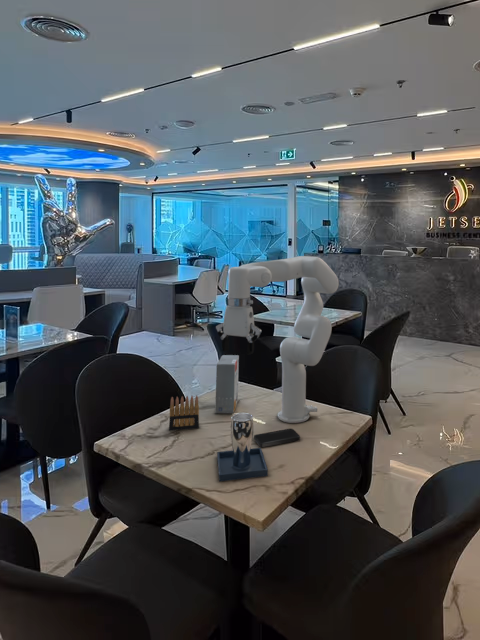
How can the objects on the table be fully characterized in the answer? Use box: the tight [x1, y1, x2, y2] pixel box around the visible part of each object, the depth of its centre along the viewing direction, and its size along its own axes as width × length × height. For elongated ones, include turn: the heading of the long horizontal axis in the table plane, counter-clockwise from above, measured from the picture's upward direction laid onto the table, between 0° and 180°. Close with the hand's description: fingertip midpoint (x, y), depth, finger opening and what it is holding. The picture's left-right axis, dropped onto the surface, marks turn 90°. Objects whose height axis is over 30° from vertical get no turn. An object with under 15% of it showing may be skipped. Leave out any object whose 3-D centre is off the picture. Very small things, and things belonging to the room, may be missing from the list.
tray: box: [216, 447, 269, 482], centre depth 136 cm, size 14×14×2 cm
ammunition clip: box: [168, 395, 200, 431], centre depth 162 cm, size 11×2×12 cm, turn 103°
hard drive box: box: [214, 354, 240, 414], centre depth 184 cm, size 16×8×20 cm, turn 2°
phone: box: [253, 428, 301, 448], centre depth 155 cm, size 8×1×15 cm
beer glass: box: [230, 412, 254, 470], centre depth 136 cm, size 7×7×15 cm
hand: (237, 352), depth 151 cm, fingers open, 9 cm apart
